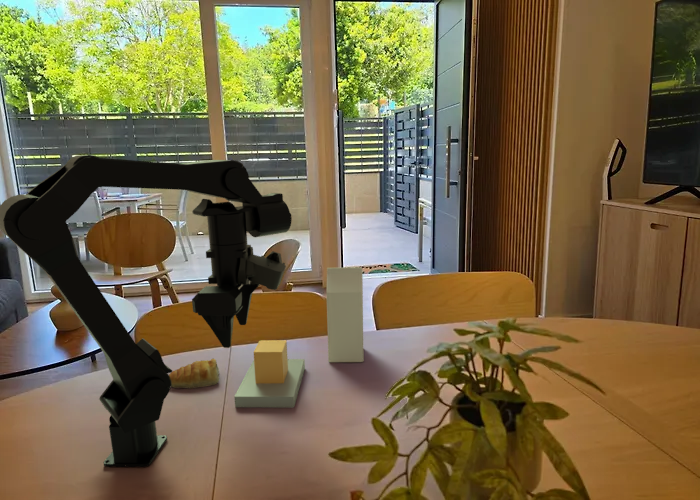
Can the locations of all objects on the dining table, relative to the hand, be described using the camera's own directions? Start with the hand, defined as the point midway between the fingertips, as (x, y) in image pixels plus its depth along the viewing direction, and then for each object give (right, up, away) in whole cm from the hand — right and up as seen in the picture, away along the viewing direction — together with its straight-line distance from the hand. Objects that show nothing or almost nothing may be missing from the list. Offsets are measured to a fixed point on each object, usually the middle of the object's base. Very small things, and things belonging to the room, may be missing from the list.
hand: (235, 335), depth 75 cm
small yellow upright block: (+4, -9, +9) cm, 14 cm away
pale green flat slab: (+4, -11, +9) cm, 15 cm away
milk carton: (+18, -8, +22) cm, 29 cm away
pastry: (-10, -11, +12) cm, 19 cm away
